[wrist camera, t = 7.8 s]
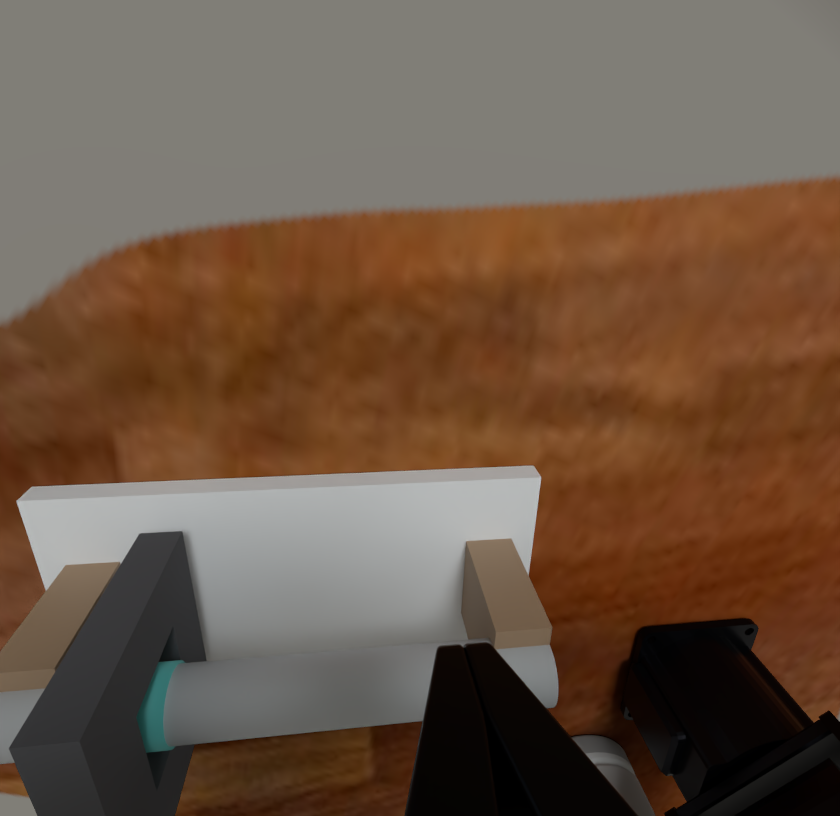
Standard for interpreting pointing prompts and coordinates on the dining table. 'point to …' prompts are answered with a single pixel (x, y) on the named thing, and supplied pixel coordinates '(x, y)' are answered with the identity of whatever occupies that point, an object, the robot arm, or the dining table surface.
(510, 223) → the dining table surface
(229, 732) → the pipe stand
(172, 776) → the dark grey flat block
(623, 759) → the travel mug
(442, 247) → the dining table surface
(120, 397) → the dining table surface
